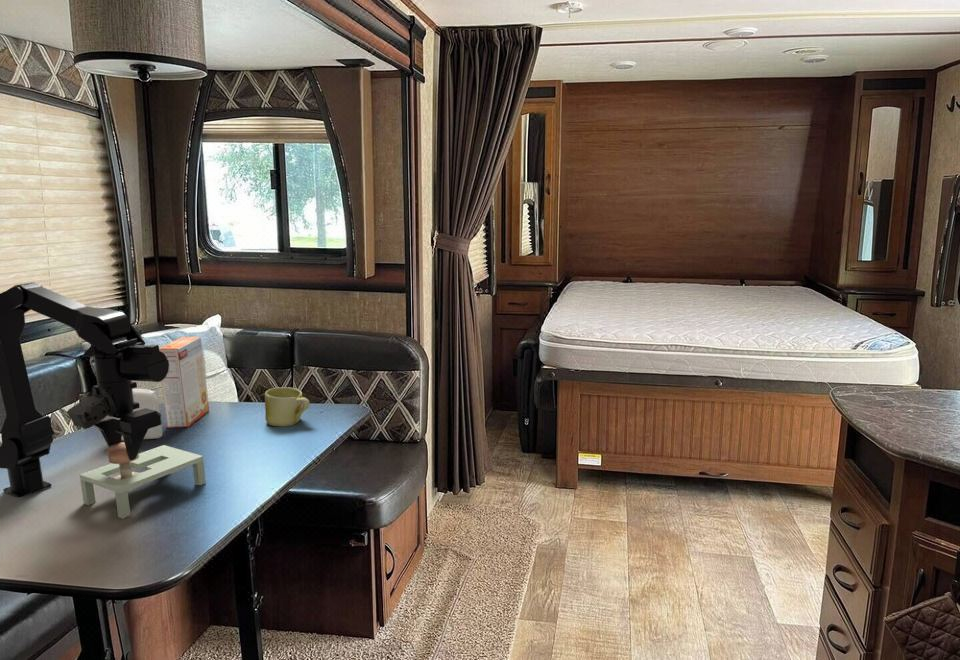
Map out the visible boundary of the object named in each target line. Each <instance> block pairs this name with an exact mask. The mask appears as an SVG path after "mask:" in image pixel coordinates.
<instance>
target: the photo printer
mask: <svg viewBox="0 0 960 660" xmlns="http://www.w3.org/2000/svg"><path fill="white" fill-rule="evenodd" d="M132 390H133V398H134V402H138V403H139V407H140V408H137V409H134V410H133V412H134V411H138V410H141V409H145V408H147V409H151V410H155V411H157V412H159V413H160V414H161V412H160V406H159V398H158V394H157V392H156V391H154V390H152V389H147V388H132ZM162 428H163V427H162V425H159V426H156V427H153V428H150V429H148V431H147V433H146V435H145V437H144V439H143V440H153V439H160V438H161V437H162V436H163V429H162ZM121 442H124V438H123V436H122V438H121Z"/></svg>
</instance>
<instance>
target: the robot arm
mask: <svg viewBox="0 0 960 660" xmlns="http://www.w3.org/2000/svg"><path fill="white" fill-rule="evenodd" d="M30 311H33V312H36V313H38V314H40V315H42V316H45V317H47V318H50V319H51V320H54V321H57V322H58V323H60V324H63V325H65V326H67V327H70V328H72V329H73V330H74V331H75V332H76V334H77V336H78V338H80V339H81V340H83V341H84V342H86V343H88V344H89V345H90V346H89V348H87V349H86V351H84V352H83V356H84V357H89V358H91V357H92V358H93V359H94V368H95V374H96V382H97V384H96V385H92V388H91V392H92V395H91V396H89V397H87V398H85V399H83V400H81V401H79V402H78V403H77V404H75V405H73V406H72V407H70V408H69V409H68V410H67V411H66V412H67V415H68V416H69V418H70V420H71V422H72V424H74V427H80V428H82V429H84V430H86V429H90V428H92V427H95V428H96V429H98V430H99V431H100V433H101V435H102V437H103V439H104V440H105V443H106V444H107V448H108V447H110V446H112V445H114V444H117V443H122V441H121V438H122V436H123V438H124V440H123V442H125V446H126V450H127V454H128V457H129V460H134V459H136V457H137V454H138V452H139V451H140V448H141V447H142V443H143V442H144V440H145V439H144V437H145V435H146V433H147V431H148V429H150V428H153V427H156V426H159V425H161V426H162V425H163V418H162V413H161V412H160V411H159V412H160V413H159V412H157V411H155V410H151V409H147V408H145V409H141V410H138V411H134V412H133V410H134V409H137V408H140V407H139V403H138V402H134V398H133V390H132V389H137V388H138V385H137V382H149V383H151V382H152V383H159V382H161V381H162V380H163V379H164V378H165V377H166V375H167V373H168V370H169V361H168V360H167V357H166V356H165V354H164V353H163V352H161V351H159V348H160V346H159V345H158V344H149V345H146V342H145V340H144V339H143V337H142V336H141V335H140V334H139V332H138V330H136V329H135V327H134V326H133V324H132V323H131V321H130V320H129V317H128V316H127V315H126V314H125V313H124V312H123V311H119V310H115V309H111V308H103V307H92V306H88V305H85V304H83V303H81V302H78V301H77V300H73V299H71V298H70V297H67V296H65V295H62V294H59V293H58V292H55V291H53V290H51V289H48V288H47V287H46V288H45V287H44V286H43V285H42V284H41V283H36V282H34V281H33V282H26V283H20V284H14V286H12V287H10V288H9V289H7V290H5V291H2V292H0V393H1V397H2V402H3V407H4V409H5V415H6V416H5V419H4V422H3V425H2V428H1V430H0V435H1V445H0V469H7V476H8V480H9V481H8V482H9V486H8V487H4V488H3V492H4V493H7V494H9V495H11V496H14V497H15V498H22V497H24V496H28V495H31V494H34V493H37V492H39V491H42V490H45V489H49V488H50V487H52V486H53V485H52V483H50V482H48V481H45V480H44V477H43V470H42V465H41V458H42V457H44V456H48V455H49V454H50V453H51V452H50V451H51V444H52V443H53V442H54V435H55V434H56V433H55V431H54V429H53V426H52V419H51V417H50V416H49V415H46V416H44V415H43V414H42V413H41V412H40V411H38V410H37V408H36V404H35V400H34V396H33V392H32V388H31V383H30V379H29V374H28V371H27V365H26V361H25V357H24V353H23V348H22V344H21V337H22V334H23V333H24V332H23V331H24V329H25V326H26V317H25V316H26V315H25V314H26V313H27V312H30Z"/></svg>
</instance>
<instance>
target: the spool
mask: <svg viewBox="0 0 960 660" xmlns="http://www.w3.org/2000/svg"><path fill="white" fill-rule="evenodd" d="M107 454H108V462H109V464H111V463H112V464H119V467H120V472H119V474H117V475H115V476H113V477H112V478H114V479H117V480H123V479H125V478H128V477H131V476H133V475H136V474H139V473H140V472H138V471H132V467H131V461H134V460H136V459H138V458H139V454H140V453H139V452H138V454H137V457H136V459H134V460H129V457H128V454H127V450H126V446H125V442H124V441H121V443H117V444H114V445H112V446H110V447H108V446H107Z"/></svg>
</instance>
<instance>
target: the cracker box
mask: <svg viewBox="0 0 960 660" xmlns="http://www.w3.org/2000/svg"><path fill="white" fill-rule="evenodd" d="M159 351H161V352H163V353H164V354H165V356H166V357H167V360H168V361H169V370H168V373H167V375H166V377H165V378H164V379H163V380H162V381H160V382H161V384H160V385H161V391H162V396H163V397H162V398H163V406H164V412H165V419H166V426H167V429H168V428H172V429H173V428H189V427H190V426H192V425H193V424H194V423H196V421H197V420H199V419H201V417H203V416H204V415H205V414H206V413H208V412H209V411H210V403H209V395H208V394H209V393H208V388H207V387H208V385H207V379H206V378H207V377H206V370H205V361H204V353H203V343H202V337H201V336H184V337H183V336H182V337H180V338H177V339H175V340H173V341H171V342H169V343H167V344H165V345H163V346H161V347H159Z"/></svg>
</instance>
